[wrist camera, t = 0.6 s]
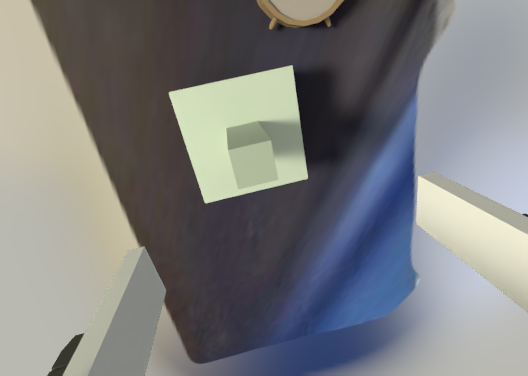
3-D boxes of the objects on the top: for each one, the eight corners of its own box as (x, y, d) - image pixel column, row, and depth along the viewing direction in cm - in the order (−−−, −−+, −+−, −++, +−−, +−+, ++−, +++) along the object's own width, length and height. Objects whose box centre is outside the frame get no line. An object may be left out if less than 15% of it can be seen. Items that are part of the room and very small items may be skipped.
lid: (170, 91, 28) (145, 101, 19) (289, 65, 29) (322, 63, 19) (205, 199, 33) (199, 247, 24) (305, 175, 34) (336, 213, 25)
